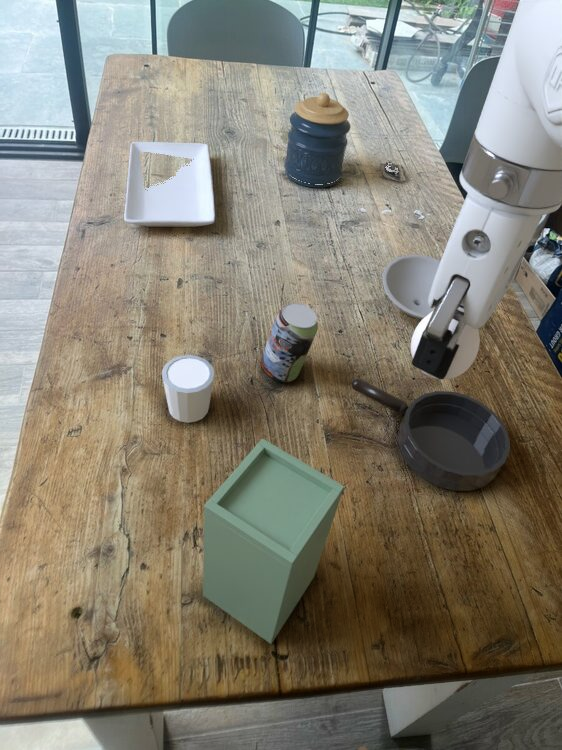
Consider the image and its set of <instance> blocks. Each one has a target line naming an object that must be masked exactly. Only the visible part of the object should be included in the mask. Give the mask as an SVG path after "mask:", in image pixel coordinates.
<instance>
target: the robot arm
mask: <svg viewBox="0 0 562 750" xmlns="http://www.w3.org/2000/svg"><path fill="white" fill-rule="evenodd" d="M458 178H459V183H460V185H461V187H462V188H463V190H464V191H465V192H466V193H467V194H466V196H465V199H464V201H463V204H462V206H461V207H460V208H461V209H460V211H459V213H458V216H457V217H456V218H455V223H454V225H453V228H452V230H451V233H450V235H449V238H448V241H447V244H446V246H445V249H444V250H443V254H442V256H441V259H440V264H439V267H438V270H437V272H436V275H435V278H434V281H433V284H432V287H431V290H430V293H429V297H428V304H429V306H430V308H431V309H433V308H434V307H435V309H434V311H433V313H432V315H431V317H430V320H429V322H428V324H427V326H426V328H425V330H424V331H423V333H422V336H421V339H420V341H419V344H418V347H417V349H416V352H415V355H414V357H413V358H412V361H411V365H412V366H413V367H414V368H417V369H418V370H419V369H420V370H422V371H424V372H426V373H428V374H430V375H432V376H434V377H436V378H438V379H437V380H441V379H444V378H445V376H446V375H447V373H448V370H449V368H450V366H451V363H452V361H453V359H454V357H455V354H456V352H457V350H458V348H459V345H458V344H456V343H457V341H458V339H459V337H460V335H461V333H462V331H463V329H464V327H465V325H466V324H467V325H469V326H472V327H473V328H474V329H478V330H479V329H481V328H482V327H484V326H485V325H486V324H487V322H488V321H489V320H490V318H491V317H492V315H493V314H494V312H495V311H496V309H497V308H498V306H499V305H500V303H501V301H503V298H504V297H505V295H506V293H507V292H508V291H509V289H510V287H511V285H512V284H513V282H514V279H515V277H516V275H517V273H518V271H519V269H520V266H521V264H522V261H523V259H524V257H525V256H526V255H525V254H526V252H527V250H528V248H529V245H530V244H531V241H532V239H533V237H534V235H535V233H536V231H537V228H538V226H539V224H540V221H541V219H542V216H545V215H549V214H552V213H555V212H556V211H557V210H559V209H560V208H561V206H562V0H519V2H518V5H517V8H516V10H515V13H514V16H513V19H512V22H511V25H510V28H509V30H508V34H507V38H506V40H505V43H504V45H503V49H502V51H501V54H500V57H499V60H498V63H497V66H496V69H495V72H494V74H493V78H492V81H491V83H490V86H489V90H488V93H487V95H486V98H485V101H484V104H483V108H482V110H481V113H480V116H479V119H478V122H477V125H476V128H475V130H474V133H473V135H472V139H471V141H470V144H469V147H468V150H467V154H466V156H465V159H464V161H463V165H462V168H461V171H460V173H459V177H458ZM459 307H460V308H463V309H464V312H462V311H459V310H458V308H459ZM452 319H454V320H457V321H459V322H458V324H457V326H456V328H455V330H454V332H453V334H452V331H450V330H448V329H449V325H450V323H451V321H452ZM420 370H419V371H420ZM444 380H445V379H444Z"/></svg>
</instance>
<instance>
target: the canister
mask: <svg viewBox="0 0 562 750" xmlns="http://www.w3.org/2000/svg"><path fill="white" fill-rule="evenodd" d="M349 117H350V115H349V111H348V110H347V109H346V108H345V107H344V106H343V104H342V103H340V102H339V101H337V100H335V99H332V98H330V95H329V94H328V93H326V92H321V93H320V94H319V95H317V96H310V97H307V98H305V99H303V100H301V101H299V102H298V103H296V105H295V106H294V112H292V114H290V116H289V124H290V125H291V127H290V129H289V130H288V133H287V138H288V139H287V145H286V156H285V158H284V173H285V175H286V177H287V178H289V180H291V182H294V183H295V184H298V185H300V186H304V187H309V188H315V189H316V188H318V189H319V188H320V189H321V188H328V187H331V186H334V185H336V184H337V183H338V182H339V180H340V178H341V176H342V173H343V170H344V169H343V165H344V159H345V153H346V148H347V146H348V138H347V134H348V133H349V132H350V131H351V123H350V121H349V120H348V119H349ZM285 169H286V170H285ZM286 171H287V172H286ZM289 174H290V175H291V176H292V177H294V178H296V179H297V180H296V179H294V178H292V177H291V176H290V175H289ZM339 177H340V178H339ZM338 178H339V179H338ZM337 179H338V180H337ZM298 180H300V181H298ZM336 180H337V181H336ZM301 181H302V182H301ZM334 181H335V182H334ZM304 182H306V183H304ZM331 182H333V183H331ZM308 183H310V184H308ZM327 183H330V184H327ZM315 184H323V185H315Z"/></svg>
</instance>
